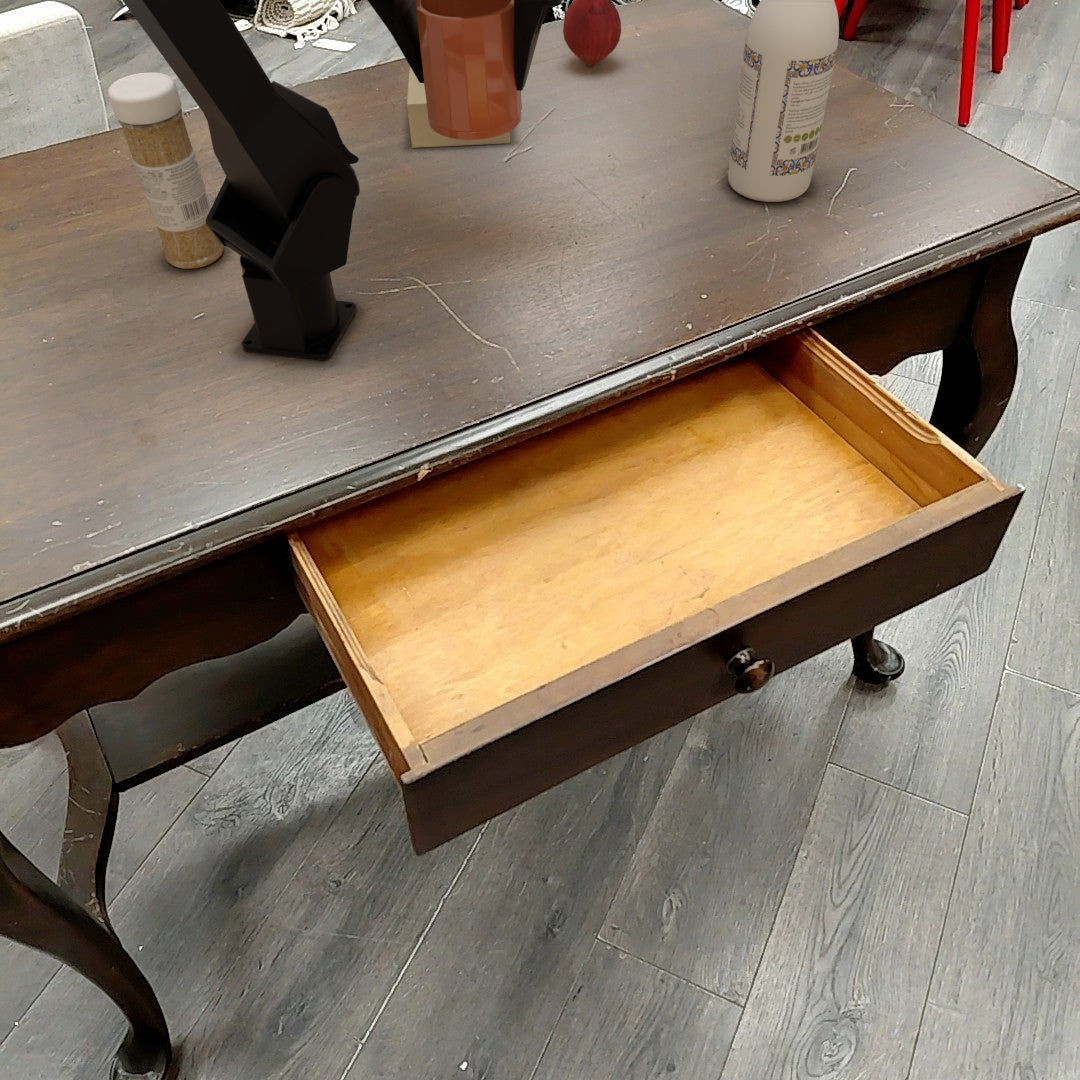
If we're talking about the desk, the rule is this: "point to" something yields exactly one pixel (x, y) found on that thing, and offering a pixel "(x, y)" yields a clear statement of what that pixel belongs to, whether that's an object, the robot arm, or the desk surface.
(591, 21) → the onion
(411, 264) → the desk surface
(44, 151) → the desk surface
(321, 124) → the robot arm
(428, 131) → the stand
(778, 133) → the bath foam
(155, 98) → the sprinkles bottle
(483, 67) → the cup
